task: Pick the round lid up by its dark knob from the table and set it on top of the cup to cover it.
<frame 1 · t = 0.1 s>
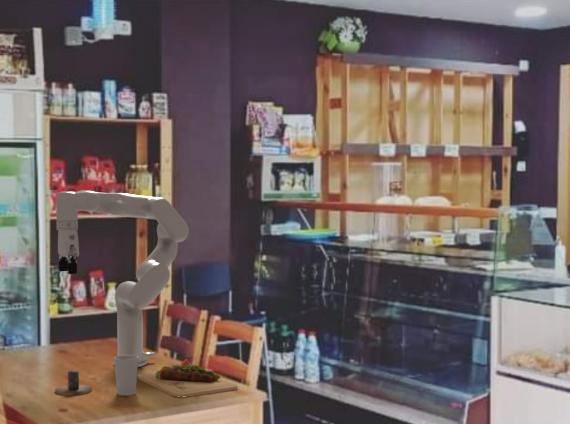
hand: (67, 272, 335), 37 cm above the table, tool pointing down, fingers open, 9 cm apart
cup: (126, 393, 307), on the table
lid: (73, 392, 309), on the table
cutting board: (186, 385, 321), on the table
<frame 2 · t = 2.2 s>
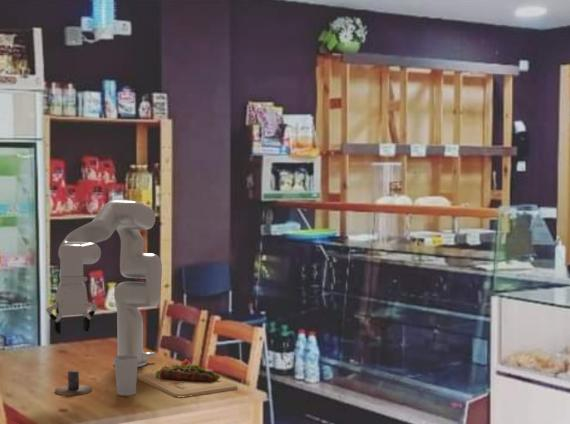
hand: (72, 332, 308), 20 cm above the table, tool pointing down, fingers open, 9 cm apart
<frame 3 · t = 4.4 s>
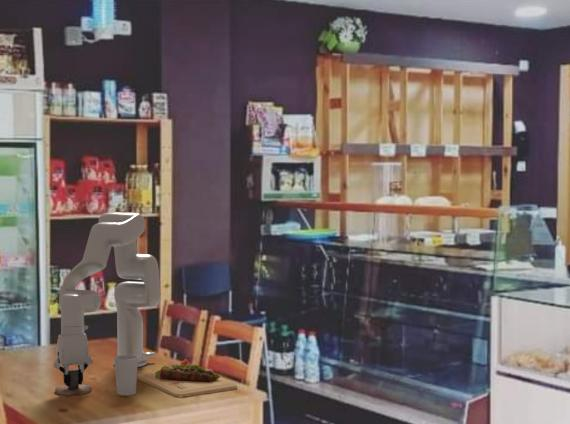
hand: (73, 384, 309), 2 cm above the table, tool pointing down, fingers closed on lid, 3 cm apart
lid: (73, 391, 309), on the table, touching gripper
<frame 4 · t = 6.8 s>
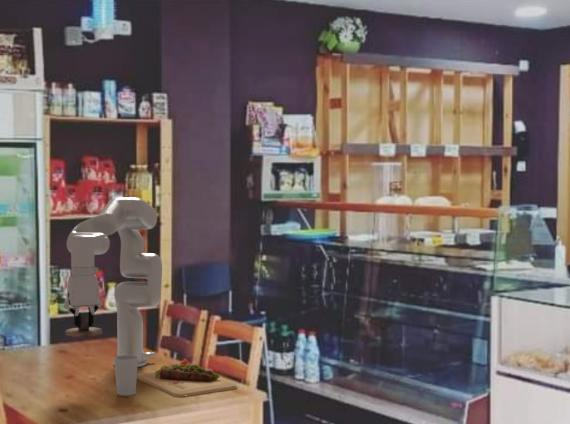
hand: (83, 326, 308), 22 cm above the table, tool pointing down, fingers closed on lid, 3 cm apart
lid: (83, 333, 308), point 20 cm above the table, touching gripper
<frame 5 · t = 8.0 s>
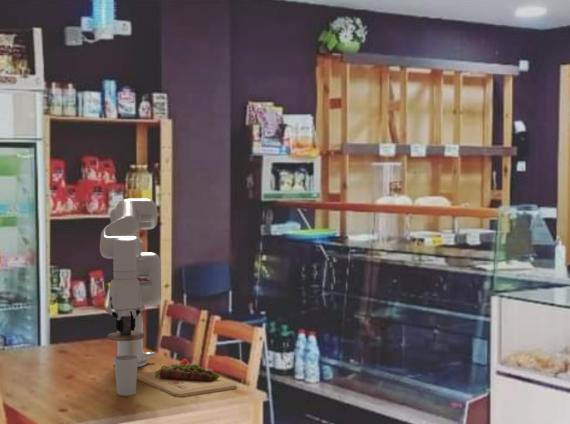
hand: (125, 330, 305), 21 cm above the table, tool pointing down, fingers closed on lid, 3 cm apart
lid: (125, 337, 305), point 19 cm above the table, touching gripper
when the fingers open (16 cm above the table, at t = 9.1 s): lid drops 1 cm, resting on cup.
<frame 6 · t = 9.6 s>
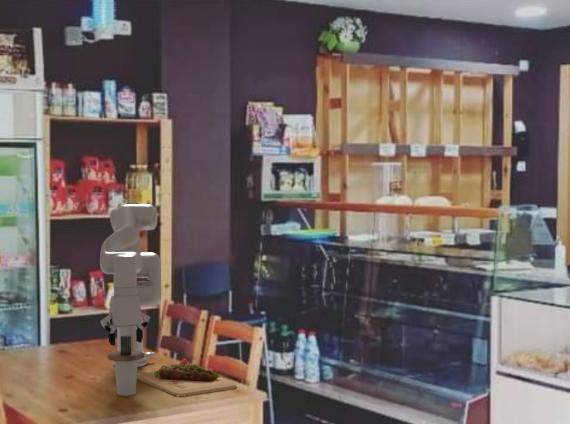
hand: (125, 343, 306), 17 cm above the table, tool pointing down, fingers open, 9 cm apart
cup: (126, 393, 307), on the table, touching lid
lid: (126, 357, 306), point 12 cm above the table, touching cup
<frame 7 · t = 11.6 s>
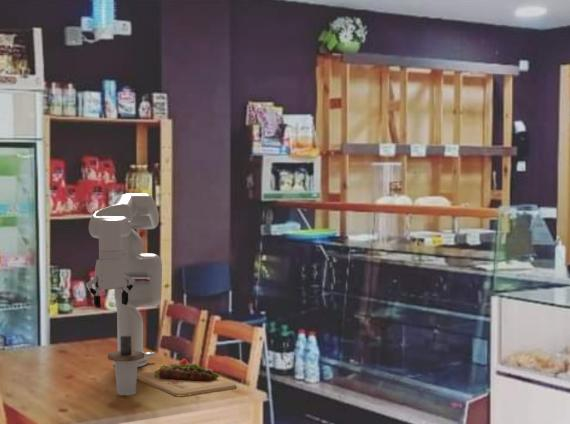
hand: (111, 305, 311), 28 cm above the table, tool pointing down, fingers open, 9 cm apart
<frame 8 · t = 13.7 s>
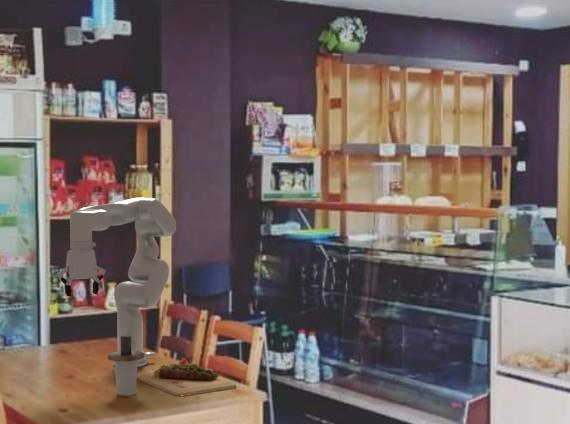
hand: (82, 294, 323), 30 cm above the table, tool pointing down, fingers open, 9 cm apart
at the end: lid 0.0 cm from the cup (horizontally); lid point 12.0 cm above the table; cup tilted 0° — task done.
